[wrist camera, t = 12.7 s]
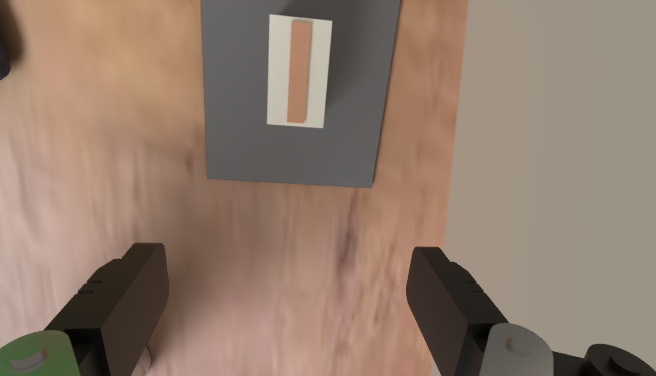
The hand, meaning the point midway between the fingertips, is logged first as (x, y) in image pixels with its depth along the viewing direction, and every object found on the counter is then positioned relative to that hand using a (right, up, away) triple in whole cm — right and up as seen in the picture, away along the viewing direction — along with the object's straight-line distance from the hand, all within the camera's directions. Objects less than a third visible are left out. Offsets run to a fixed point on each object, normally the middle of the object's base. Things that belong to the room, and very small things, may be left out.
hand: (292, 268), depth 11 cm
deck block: (-1, +12, +17) cm, 21 cm away
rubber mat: (-1, +13, +17) cm, 21 cm away
